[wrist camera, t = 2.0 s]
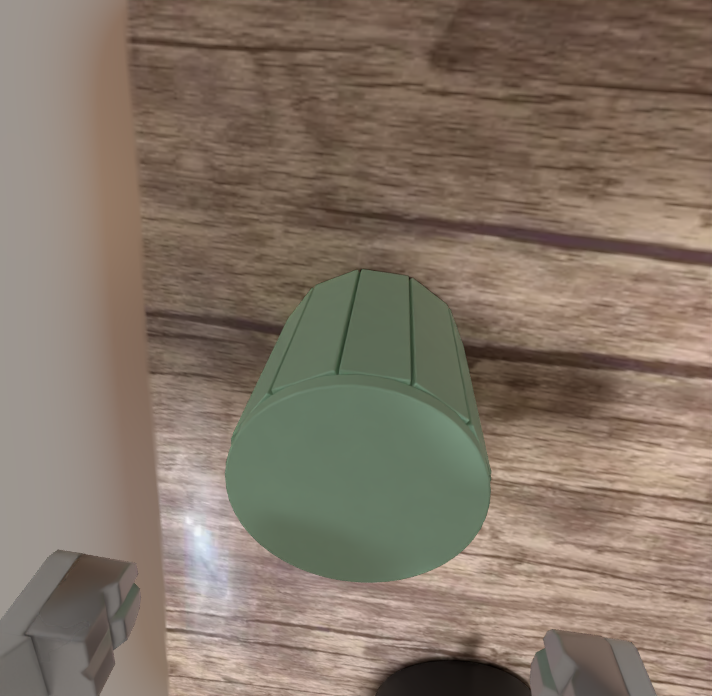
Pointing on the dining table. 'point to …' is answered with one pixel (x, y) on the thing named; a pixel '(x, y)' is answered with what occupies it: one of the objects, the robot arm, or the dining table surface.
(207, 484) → the dining table surface
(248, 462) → the cup
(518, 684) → the mug
